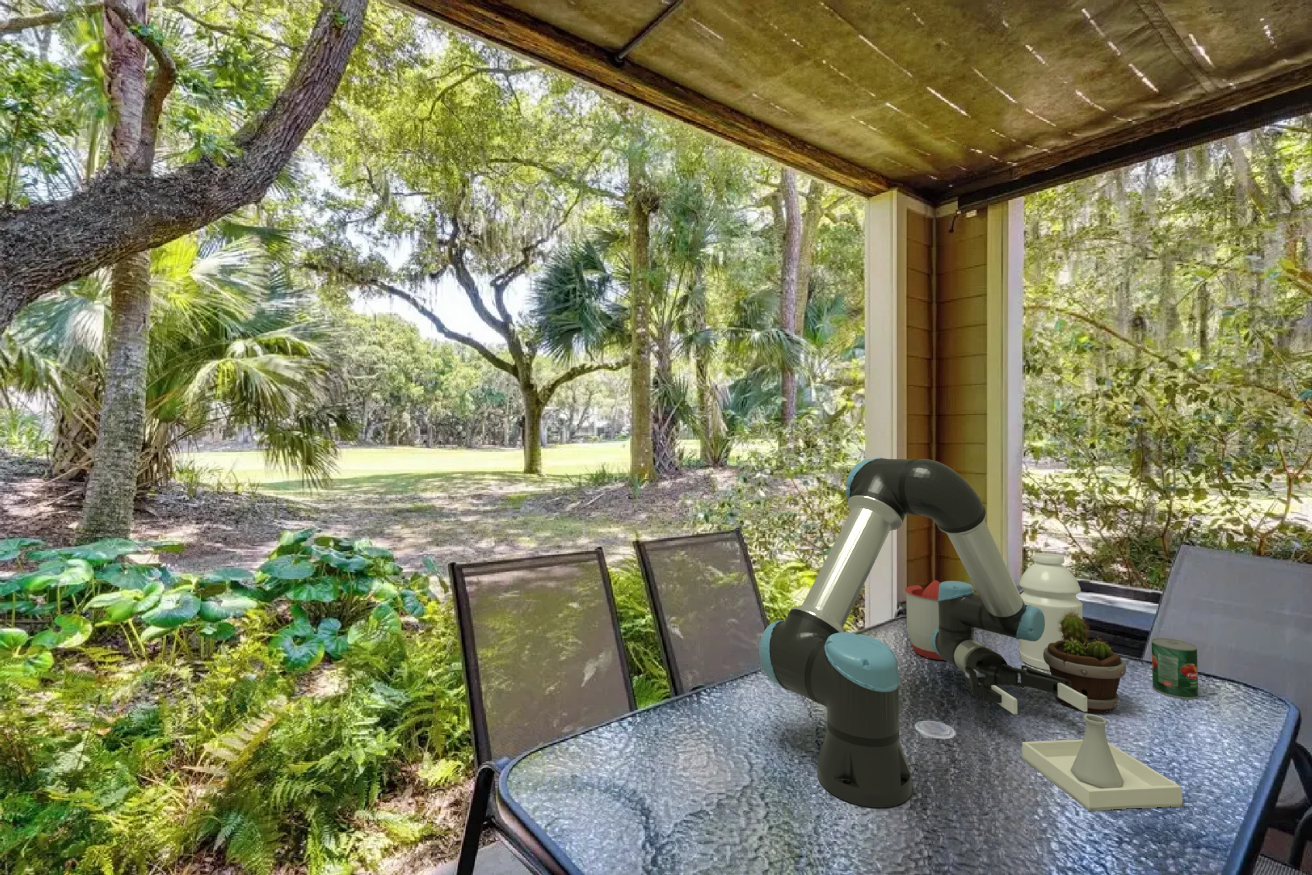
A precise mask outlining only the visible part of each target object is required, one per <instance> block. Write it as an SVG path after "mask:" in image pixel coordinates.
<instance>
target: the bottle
mask: <svg viewBox="0 0 1312 875" xmlns="http://www.w3.org/2000/svg"><path fill="white" fill-rule="evenodd" d="M1032 560H1033V561H1034V563H1032V564H1031V565H1029V567H1027V569H1026V570H1025V571H1024V572H1023V573H1022V575H1021V577H1020V580H1019V582H1018V585H1019V587H1021V589H1023V592H1021V593H1019V594H1020V596H1021V598H1022V599H1023V601H1024V604H1025V605H1031V606H1034V607H1037V608H1039V609H1041V611H1042V612H1043V614H1044V618H1045V628H1044V632H1043V634H1042V636H1041V638H1040V639H1039V640H1037V641H1027V640H1022V639H1018V642H1019V643H1018V645H1019V646H1018V648H1019V650H1018V654H1019V658H1020V659H1021V661H1022V662H1023V663H1026V664H1027V665H1030V666H1032V667H1035V668H1037V669H1041V670H1045V671H1050V668H1049V665H1048V664H1046V662H1045V661H1044V658H1043V652H1044V649H1045V648H1046V647H1048V644H1050V643H1056V642H1057V641H1060V640H1061V639H1064V638H1062V636H1063V634H1062V632H1061V631H1060V630H1059V628H1061V625H1060V623H1059V621H1061V620H1063V617H1064V618H1065V617H1066V616H1065V615H1068V614H1072V613H1073V611H1074V610H1075V611H1074V613H1075V614H1078V616H1077V617H1079V618H1081V619H1082V617H1083V608H1084V607H1083V602H1082V601H1080V599H1079V598H1078V597H1077V594H1079V593H1080V592H1081V587H1080V584H1079V582H1078V580H1077V578H1076V577H1075V576H1074V574H1073V573H1072V572H1071V571H1070V570H1069V569H1068V568H1067V567H1066V566H1065V565H1063V564H1065V557H1064V555H1062V554H1057V553H1050V552H1049V553H1048V552H1037V553H1034V554H1033V556H1032ZM1070 607H1071V608H1070ZM1071 610H1072V612H1071ZM1066 611H1067V612H1066ZM1068 612H1071V613H1068ZM1066 613H1068V614H1066ZM1074 613H1073V614H1074ZM1061 615H1062V616H1063V617H1062V616H1061ZM1060 617H1062V619H1061V618H1060ZM1060 619H1061V620H1060ZM1058 620H1059V621H1058ZM1058 623H1059V624H1058ZM1058 630H1059V632H1058ZM1061 635H1062V636H1061ZM1063 641H1065V640H1063Z"/></svg>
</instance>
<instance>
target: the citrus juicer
mask: <svg viewBox="0 0 1312 875" xmlns="http://www.w3.org/2000/svg"><path fill="white" fill-rule="evenodd" d="M941 583H942V582H940V581H939V580H936V579H935V580H933V581H931V582H930V583H929V584H928V585H927V586H926V587H925V588H924V589H923V587H922V586H921V585H919V584H917V585H916V584H915V585H910V586H907V587H906V588H904V589H905V590H904V591H905V594H906V595H905V596H906V598H905V599H906V600H905V601H906V625H907V626H906V627H907V632H908V636H909V639H910V644H911V646H912V648H913V651H914V652H915V653H917V654H918V655H919V654H920V656H924V657H923V658H925V657H928V658H927V659H933V660H939V661H940V660H941V661H945V660H944V659H942V658H941V656H939V655H938V654H937V653H936V652H935V651H934V649H933V648H932V645H931V637H932V635H933V633H934V631H935V630H936V629H938V628H939V606H938V594H939V585H940V584H941Z"/></svg>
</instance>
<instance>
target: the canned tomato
mask: <svg viewBox="0 0 1312 875" xmlns="http://www.w3.org/2000/svg"><path fill="white" fill-rule="evenodd" d="M1150 642H1151V667H1152V668H1151V670H1152V671H1151V674H1152V676H1151V677H1152V680H1151V681H1152V689H1153V691H1156V692H1157V693H1159V694H1162V695H1164V696H1168V697H1171V698H1175V697H1176V698H1177V699H1181V700H1196V699H1198V698H1199V676H1198V674H1199V673H1198V669H1199V668H1198V666H1199V665H1198V646H1197V645H1196V644H1193V643H1191V642H1188V641H1185V640H1180V639H1175V638H1170V637H1169V638H1167V637H1154V638H1151V640H1150ZM1176 698H1175V699H1176Z"/></svg>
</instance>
